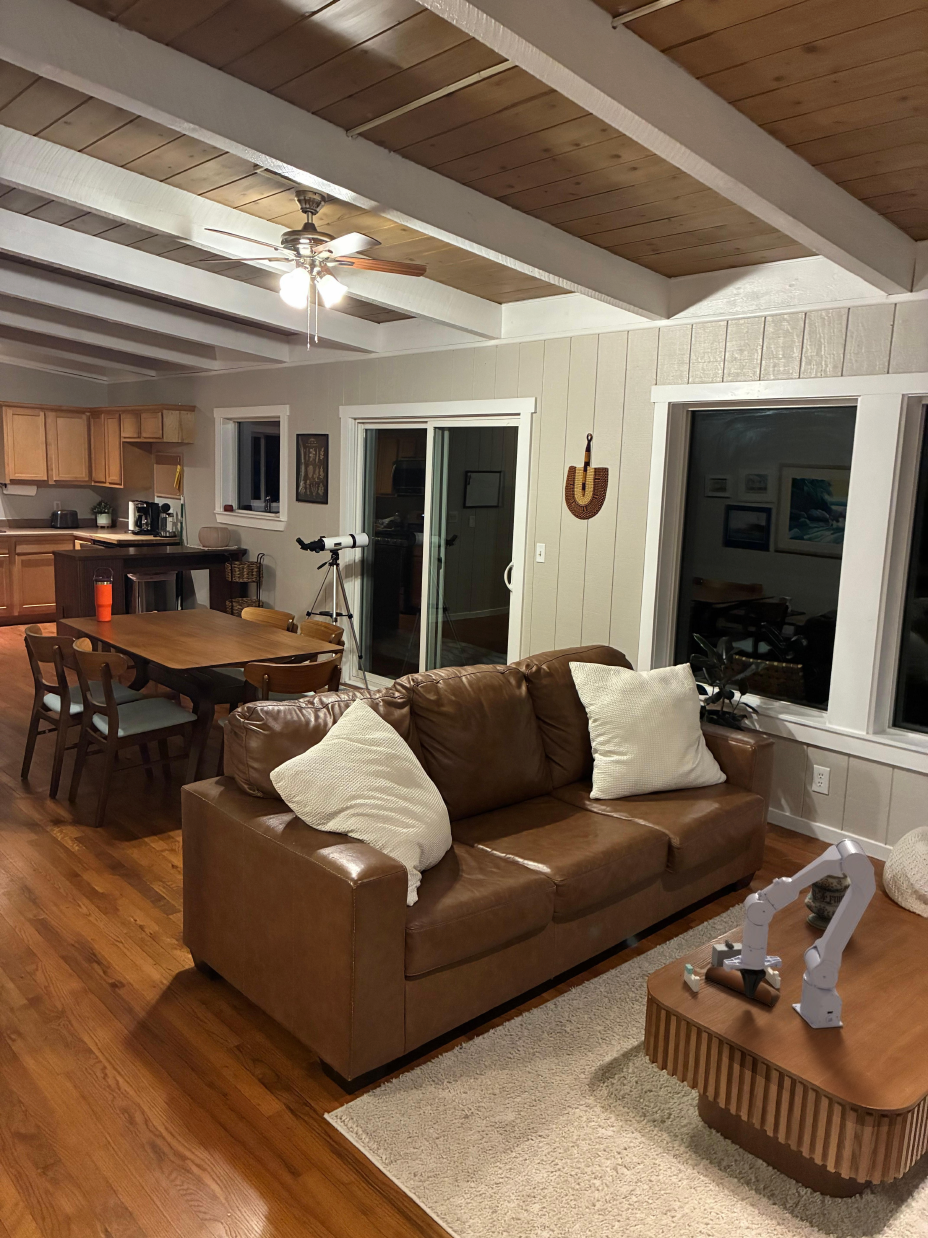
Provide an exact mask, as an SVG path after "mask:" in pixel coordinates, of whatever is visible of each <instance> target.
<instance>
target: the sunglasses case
mask: <svg viewBox="0 0 928 1238" xmlns="http://www.w3.org/2000/svg"><path fill="white" fill-rule="evenodd" d="M704 978H705V979H707V980H708V981H711V982H713V983H717V984H719V985H722V986H725V987H729V988H730V989H733V990H735V991H736V992H738V993H742V994H743V995H746V994H745V989H744V983H743V979H742V976H741V973H740V971H739V970H738V969H733V970H731V971H726V970H725V969H724V968H723V967H715V966H709V967H707V969H706V971H705V974H704ZM782 996H783V994H782V993H781V992H780V991H778V990H776V988H773V987H771V986H769V985H767V984H766V983H764V982H762V981H761V982H760V984H759V986H758V988H757V990H756V992H755V995H754V997H751V998H752V999H755V1000H756V1001H759V1002H761V1003H764V1004H765V1005H768V1006H769V1007H771V1008H772V1007H773V1006H774V1005H775V1003H777V1002H778V1001H779V999H780V998H781V997H782Z"/></svg>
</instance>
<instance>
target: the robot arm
mask: <svg viewBox="0 0 928 1238" xmlns="http://www.w3.org/2000/svg"><path fill="white" fill-rule="evenodd" d="M842 872H844V873H845V874H846V875H847V876H848V877H849V879H850V881H851V885H850V886H849V888H848V889H846V894H845V896H844V898H843V899H842V901H841V903H840V905H839V907H838V909H837V911H836V912H835V914H834V916H833V918H832V920H831V922H830V924H829V925H828V927H827V929H826V930H824V933H823V935H822V937H821V938H818V939H816V940H815V942H814V943H813V945H812V946H809V947H808V948H807V949H806V950H805V952H804V954H803V961H804V963H805V965H806V970H805V972H804V973H803V976H802V983H801V985H802V986H801V987H802V988H801V996H800V1002H799V1003H793V1004H792V1005H791V1006H792V1008H793V1009H795V1011H796V1012H797V1013H798V1015H800V1016H801V1017H802V1018H803V1019H804V1020H805V1021H806V1023H808V1025H809V1026H811V1028H812V1029H822V1028H824V1029H825V1028H834V1027H835V1028H836V1027H842V1026H843V1022H842V1021H841V1016H842V1008H843V1000H842V998H841V996H840V995H839V994H838V991H837V990H836V984H837V982H838V980H839V970H840V968H841V966H842V959H843V958H842V955H843V951H844V949H845V948H846V946H847V945H848V943H849V940H850V939H851V937H852V935H853V933H854V931H855V929H856V928H857V926H858V923H859V922H860V920H861V919H862V917H863V915H864V913H865V911H866V909H867V907H868V905H870V902H871V900H872V899H873V896H874V894H875V892H876V890H877V886H876V879H875V878H876V877H875V867H874V866H873V864H872V862H871V860H870V859H869V857H868V856H867V854H866V853H865V851H864V849H863V847H862V846H861V844H860V843H859V842H858V841H857V840H855V839H853V838H843V839H841V840H839V841H838V842H837V843H836V844H833V845H831V846H829V847H828V848H827V849H826V850H825V851H824V852H823V853H822V854H821V855H819V857H817V858H816V859H815V860H813V861H812V862H811V863H808V864H807V866H805V867H804V868H802V869H801V870H799V871H798V872H797V873H794V875H793V876H791V877H786V876H783V877H781V878H779V879H778V878H777V877H776V878H774V879H772V883H771V884H770V885H768V886H766V887H764V889H762V890H758V891H757V892H756V893H751V894H749V895H748V896H746V899H745V900H744V901H743V906H744V908H745V917H744V922H743V931H742V942H741V944H742V950H741V955H740V956H737V957H735V958H732V959H728V960H724V962H723V968H724V969H725V970H726V971H731V970H733V969H734V970H738V971H740V973H741V976H742V979H743V983H744V989H745V994H744V995H746V996H747V997H748V998H752V997H754V995H755V992H756V990H757V988H758V986H759V984H760V982H762V981H763V980H764V979H766V978H765V977H766V971H765V970H764V968H767V967H770V968H773V967H776V968H777V969H781V968H782V963H783V962H782V961H783V960H782V959H781V958H780V957H779V956H772V955H767V947H768V937H769V924H770V922H771V921H772V920H773V917H774V914H775V913H777V912H779V911H780V910H782V909H784V908H785V907H786V906H788V905H790V904H791V903H792V902H794V901H795V900H797V899H799V894H800V891H801V890H804V889H806V888H807V887H809V886H811V885H812V883H814V882H816V881H818V880H819V879H821V878H823V877H825V876H826V875H834V876H838V877H843V875H842Z"/></svg>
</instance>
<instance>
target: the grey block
mask: <svg viewBox="0 0 928 1238" xmlns="http://www.w3.org/2000/svg"><path fill="white" fill-rule="evenodd" d="M741 950H742V942H736V943H735V942H734V943H732V942H731V941H730V940H729V939H725V940H724V943H719V944H716V943H715V944H712V950H711V961H710V962H711V963H712V965H713V967H723V962H724V960H728V959H732V958H735V957H737V956H740V955H741Z"/></svg>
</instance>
